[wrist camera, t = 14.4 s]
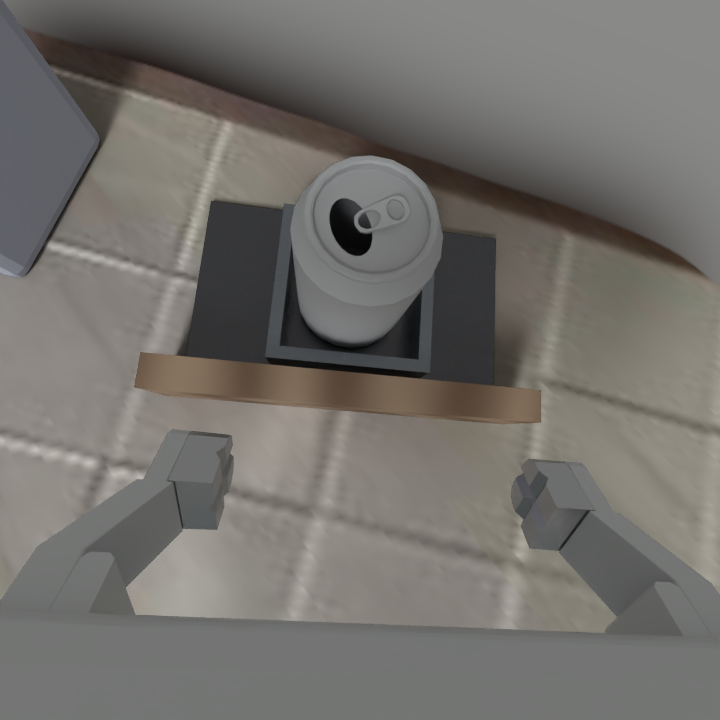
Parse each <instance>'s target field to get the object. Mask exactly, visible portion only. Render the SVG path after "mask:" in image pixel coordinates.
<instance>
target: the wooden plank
mask: <svg viewBox="0 0 720 720" xmlns="http://www.w3.org/2000/svg"><path fill="white" fill-rule="evenodd" d="M134 387H135V388H139V389H143V390H147V391H151V392H155V393H159V394H162V395H167V396H179V397H190V398H202V399H214V400H226V401H237V402H249V403H261V404H273V405H284V406H296V407H308V408H319V409H331V410H343V411H355V412H366V413H378V414H390V415H402V416H413V417H425V418H437V419H449V420H460V421H472V422H484V423H496V424H518V423H539V422H541V390H533V389H523V388H512V387H502V386H491V385H481V384H470V383H460V382H449V381H439V380H428V379H417V378H407V377H396V376H386V375H375V374H365V373H354V372H344V371H333V370H323V369H312V368H301V367H291V366H280V365H270V364H259V363H249V362H238V361H228V360H217V359H207V358H196V357H185V356H175V355H164V354H154V353H143V352H140V358H139V363H138V369H137V374H136V380H135V385H134Z"/></svg>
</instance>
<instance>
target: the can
mask: <svg viewBox="0 0 720 720" xmlns="http://www.w3.org/2000/svg"><path fill="white" fill-rule="evenodd" d="M290 232H291V241H292V250H293V259H294V268H295V277H296V286H297V295H298V302H299V308H300V312H301V314H302V316H303V318H304V320H305V322H306V324H307V326H308V327H309V328H310V329H311V330H312V331H313V332H314V333H315V334H316V335H317V336H318V337H319V338H321V339H323V340H325V341H327V342H329V343H331V344H333V345H335V346H341V347H347V348H356V347H363V346H368V345H370V344H372V343H374V342H376V341H378V340H380V339H382V338H383V337H384V336H385V335H386V334H387V333H388V332H389V331H390V330H391V329H392V328H393V327H394V326H395V324H396V323H397V322H398V320H399V319H400V318H401V317H402V315H403V314H404V313H405V311H406V310H407V309H408V307H409V306H410V305H411V303H412V302H413V301H414V299H415V298H416V297H417V295H418V294H419V293H420V292H421V290H422V289H423V288H424V286H425V285H426V284H427V282H428V281H429V280H430V278H431V277H432V275H433V273H434V271H435V268H436V266H437V264H438V262H439V260H440V258H441V251H442V242H443V233H442V228H441V224H440V219H439V214H438V210H437V205H436V201H435V199H434V197H433V196H432V194H431V192H430V190H429V189H428V187H427V185H426V184H425V183H424V182H423V181H422V180H421V179H420V178H419V177H418V176H417V175H416V174H415V173H414V172H413V171H412V170H411V169H409V168H407V167H405V166H403V165H401V164H399V163H397V162H396V161H394V160H391V159H387V158H382V157H377V156H372V155H369V156H356V157H349V158H347V159H344V160H342V161H339V162H336V163H334V164H332V165H330V166H329V167H328V168H327V169H326V170H324V171H323V172H322V173H321V174H320V175H318V176H317V177H316V179H315V180H314V182H312V183H311V184H310V185H309V186H308V187H306V189H305V190H304V192H303V194H302V195H301V197H300V199H299V200H298V202H297V204H296V205H295V207H294V212H293V217H292V222H291V228H290Z"/></svg>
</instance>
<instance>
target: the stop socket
mask: <svg viewBox="0 0 720 720" xmlns="http://www.w3.org/2000/svg"><path fill="white" fill-rule="evenodd" d="M294 207H295V205H292V204H285V203H284V209H283V210H275V209H268V208H260V207H253V206H245V205H238V204H230V203H223V202H215V201H211V205H210V211H209V217H208V223H207V229H206V235H205V242H204V248H203V254H202V260H201V266H200V272H199V279H198V285H197V291H196V297H195V303H194V309H193V316H192V322H191V328H190V334H189V340H188V346H187V353H186V357H196V358H207V359H217V360H228V361H238V362H249V363H259V364H270V365H280V366H291V367H301V368H312V369H323V370H333V371H344V372H354V373H365V374H375V375H386V376H396V377H407V378H417V379H428V380H439V381H449V382H460V383H470V384H481V385H491V386H493V383H494V317H495V252H496V239H494V238H487V237H479V236H472V235H464V234H456V233H449V232H442V233H443V242H442V251H441V258H440V260H439V262H438V264H437V266H436V268H435V271H434V273H433V275H432V277H431V278H430V280H429V281H428V282H427V284H426V285H425V286H424V288H423V289H422V290H421V292H420V293H419V294H418V295H417V297H416V298H415V299H414V301H413V302H412V303H411V305H410V306H409V307H408V309H407V310H406V311H405V313H404V314H403V315H402V317H401V318H400V319H399V320H398V322H397V323H396V324H395V326H394V327H393V328H392V329H391V330H390V331H389V332H388V333H387V334H386V335H385V336H384V337H383V338H382V339H380V340H378V341H376V342H374V343H372V344H370V345H368V346H363V347H356V348H347V347H341V346H335V345H333V344H331V343H329V342H327V341H325V340H323V339H321V338H319V337H318V336H317V335H316V334H315V333H314V332H313V331H312V330H311V329H310V328H309V327H308V326H307V324H306V322H305V320H304V318H303V316H302V314H301V312H300V308H299V302H298V295H297V286H296V277H295V268H294V259H293V250H292V241H291V232H290V228H291V222H292V217H293V212H294Z"/></svg>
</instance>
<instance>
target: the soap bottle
mask: <svg viewBox="0 0 720 720" xmlns="http://www.w3.org/2000/svg"><path fill="white" fill-rule="evenodd" d="M99 140H100V138H99V136H98V133H97V131H96V130H95V129H94V127H93V126H92V124H91V123H90V122H89V120H88V119H87V118H86V116H85V115H84V113H83V112H82V111H81V109H80V108H79V106H78V105H77V104H76V102H75V101H74V99H73V98H72V97H71V95H70V94H69V92H68V91H67V90H66V88H65V87H64V85H63V84H62V83H61V81H60V80H59V78H58V77H57V76H56V74H55V73H54V71H53V70H52V69H51V67H50V66H49V65H48V63H47V62H46V60H45V59H44V58H43V56H42V55H41V53H40V52H39V51H38V49H37V48H36V46H35V45H34V44H33V42H32V41H31V39H30V38H29V37H28V35H27V34H26V32H25V31H24V30H23V28H22V27H21V25H20V24H19V23H18V21H17V20H16V19H15V17H14V16H13V15H12V13H11V12H10V10H9V9H8V8H7V6H6V5H5V3H4V2H3V1H2V0H0V273H2V274H5V275H9V276H15V277H23V276H24V275H25V274H26V273H27V272H28V271H29V269H30V268H31V266H32V264H33V262H34V260H35V259H36V257H37V255H38V253H39V251H40V250H41V248H42V246H43V244H44V242H45V241H46V239H47V237H48V235H49V233H50V232H51V230H52V228H53V226H54V225H55V223H56V221H57V219H58V217H59V216H60V214H61V212H62V210H63V208H64V207H65V205H66V203H67V201H68V199H69V198H70V196H71V194H72V192H73V190H74V189H75V187H76V185H77V183H78V181H79V180H80V178H81V176H82V174H83V172H84V171H85V169H86V167H87V165H88V163H89V162H90V160H91V158H92V156H93V154H94V153H95V151H96V149H97V147H98V144H99Z"/></svg>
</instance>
